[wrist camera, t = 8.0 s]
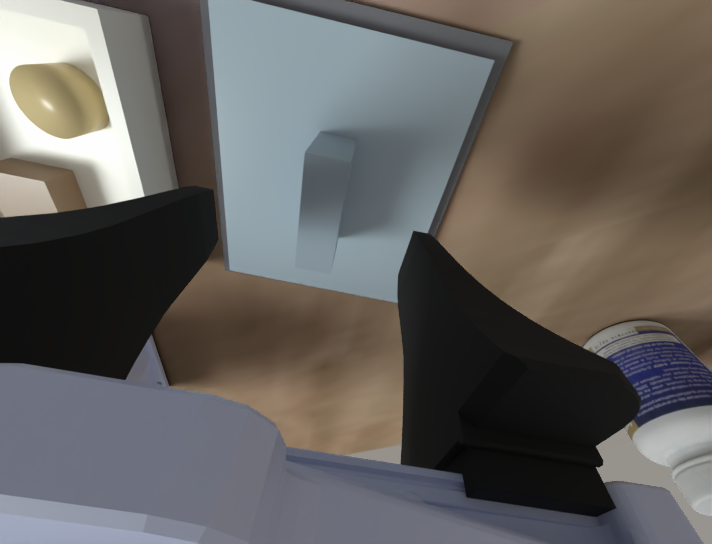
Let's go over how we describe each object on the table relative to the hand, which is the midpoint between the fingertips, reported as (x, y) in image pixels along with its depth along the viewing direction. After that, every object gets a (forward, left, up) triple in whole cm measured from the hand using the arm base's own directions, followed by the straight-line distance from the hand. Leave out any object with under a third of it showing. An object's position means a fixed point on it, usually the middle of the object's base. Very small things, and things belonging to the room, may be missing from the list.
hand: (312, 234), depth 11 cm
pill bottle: (-7, -21, -5) cm, 23 cm away
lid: (0, 0, -5) cm, 5 cm away
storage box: (-1, +13, -5) cm, 14 cm away
